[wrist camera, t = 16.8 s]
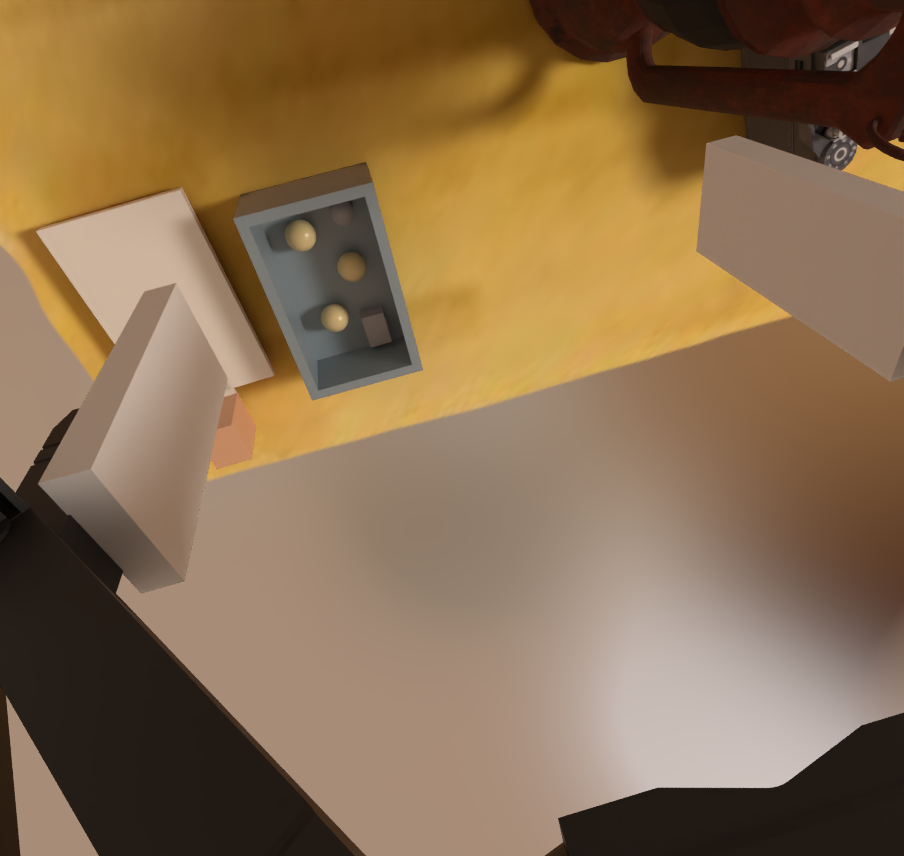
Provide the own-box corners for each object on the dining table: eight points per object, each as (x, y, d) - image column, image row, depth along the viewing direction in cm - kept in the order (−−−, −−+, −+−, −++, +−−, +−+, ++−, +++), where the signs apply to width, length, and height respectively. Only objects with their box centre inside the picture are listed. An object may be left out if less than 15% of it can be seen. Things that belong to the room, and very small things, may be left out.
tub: (241, 194, 44) (232, 218, 39) (365, 162, 44) (372, 182, 39) (311, 365, 54) (312, 400, 49) (413, 337, 54) (423, 369, 49)
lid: (45, 222, 42) (6, 256, 37) (184, 182, 43) (165, 210, 37) (189, 433, 56) (176, 481, 50) (294, 402, 56) (292, 446, 51)
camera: (858, 102, 49) (962, 121, 41) (740, 162, 50) (819, 193, 42) (868, -105, 40) (1001, -129, 32) (723, -25, 41) (819, -30, 34)
